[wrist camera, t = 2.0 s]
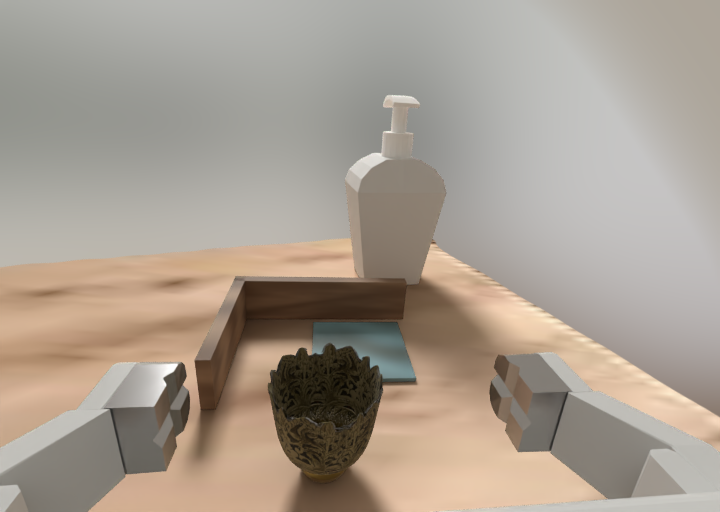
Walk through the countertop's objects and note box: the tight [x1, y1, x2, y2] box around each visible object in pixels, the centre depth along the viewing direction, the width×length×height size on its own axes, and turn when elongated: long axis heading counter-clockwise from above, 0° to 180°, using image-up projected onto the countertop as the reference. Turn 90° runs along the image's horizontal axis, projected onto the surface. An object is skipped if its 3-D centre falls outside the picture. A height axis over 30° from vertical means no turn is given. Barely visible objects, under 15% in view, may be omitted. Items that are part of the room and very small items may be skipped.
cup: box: [268, 343, 383, 483], centre depth 26 cm, size 8×7×8 cm
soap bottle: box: [345, 95, 446, 285], centre depth 55 cm, size 12×10×26 cm
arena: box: [195, 276, 416, 409], centre depth 39 cm, size 16×20×5 cm
